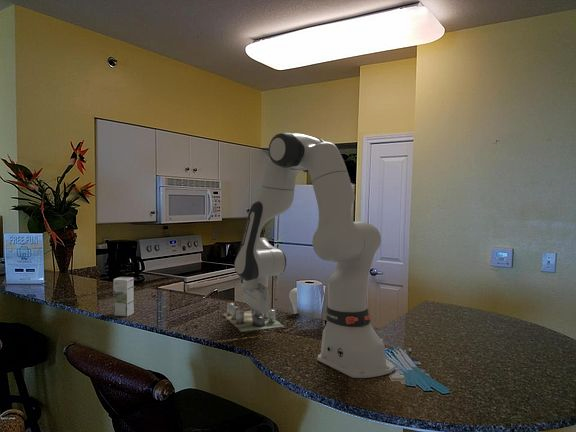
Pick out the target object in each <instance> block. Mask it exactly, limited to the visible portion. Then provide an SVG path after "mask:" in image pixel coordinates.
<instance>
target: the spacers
mask: <svg viewBox="0 0 576 432" xmlns="http://www.w3.org/2000/svg"><path fill="white" fill-rule="evenodd" d="M276 311H277V310H276V309H273V308H270V311H269V312H268V313H260V314H259V315H263V316H265V319H268V323H271V324H273V323H275V320H277V319H276V315H277V314H276ZM244 312H245V310H242V309H240V306H238V305H237V306H236V305H235V302H227V304H226V313H227V316H231V320H236V324H238V325H242V324H244Z"/></svg>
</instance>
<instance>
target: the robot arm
mask: <svg viewBox="0 0 576 432" xmlns="http://www.w3.org/2000/svg"><path fill="white" fill-rule="evenodd" d="M268 156H269V158H268V159H267V160H266V163H265V166H264V172H263V175H262V182H261V189H260V190H261V191H260V193H259V195H258V198H257V200H256V201H255V202H254V203H252V204H251V206H250V208H249V212H248V215H247V218H246V222H245V226H244V230H243V235H242V239H241V241H240V245H239V249H238V251H237V254H236V257H235V259H234V263H233V266H234V271H235V273H236V274H237V275H238V277H239V278H240V280H239V281H240V283H241V297H242V301H243V302H244V303H246V305H248V306H249V308H250V311H251V313H252V317H253V316H255V315H259V314H260V313H268V312H269V311H270V309H271V301H270V293H269V290H267V289H266V288H267V287H269V281H268V280H269V277H274V276H279V275H283V273H284V272H285V270H286V268H287V267H286V266H287V258H286V254H285V252H284V251H282V249H281V248H277V247H275V246H273V245H272V244H271V243H269V241H268V239H267V238H266V237H263V236H261V234H262V230H263V227H264V226H265V224H267V223H268V222H269V221H270V220H272V219H274V218H276V217H277V216H280V215H282V214H284V213H286V212H287V211H288V210H289V209H290V208H291V207H292V204H293V201H294V197H295V189H296V188H295V187H296V178H297V176H298V174H299V173H300V172H303V173H309V175H310V181H311V184H312V189H313V192H314V196H315V200H316V203H317V209H318V224H317V227H316V230H315V231H314V233H313V236H312V242H311V243H312V249H313V251H314V253H315V254H316V255H317V257H318V258H320V259H321V260H323V261H328V262H332V263H333V262H334V263H336V266H335V268H334V271H333V272H332V274H331V275H330V277H329V280H328V284H327V285H328V287H327V288H328V290H327V291H328V292H327V298H328V299H327V306H326V311H325V315H326V317H325V318H326V320H327V321H326V324H325V326H324V328H323V330H322V336H321V347H320V353H319V354H318V355H317V356H316V357H317V358H316V359H317V361H318V362H320V363H322V364H324V365H327V366H328V367H330V368H332V369H334V370H336V371H338V372H340V373H342V374H344V375H346V376H348V377H351V378H353V379H354V378H355V379H367V378H375V377H381V376H384V375H385V376H386V375H387V374H391V373H393V372H394V371H396V366H395V365H394V363H392V362H391V361H390V360H389V359H387V353H386V346H385V341H384V339H383V338H380V337H379V336H378V333H377V332H376V331H375V329H374V328H373V326H372V324H371V322H372V321H371V320H373V318H371V317H373V315H371V314H370V312H369V309H368V307H367V305H368V304H367V302H368V284H369V282H368V281H369V276H370V271H371V268H372V263H373V260H374V257H375V254H376V252H377V251H378V250H379V249H380V246H381V241H382V237H381V234H380V233H381V232H380V231H379V229H378V228H377V226H375V225H373V224H371V223H369V222H365V221H361V220H360V221H358V220H357V221H353V215H352V208H353V204H354V202H355V198H356V194H355V192H354V188H353V185H352V182H351V177H350V175H349V172H348V169H347V166H346V163H345V160H344V158H343V155H342V154H341V152H340V150H339V149H338V147H337V146H336V145H335V144H334V143H332V142H330V141H325V140H323V139H322V138H319V137H317V136H316V137H313V136H310V135H306V134H303V133H295V132H293V133H292V132H280V133H276V134H275V135H274V136H273V137H272V139H270V142H269V144H268ZM392 371H393V372H392Z"/></svg>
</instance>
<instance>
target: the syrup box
mask: <svg viewBox="0 0 576 432" xmlns="http://www.w3.org/2000/svg"><path fill="white" fill-rule="evenodd" d="M134 280H135V279H134V276H133V277H132V276H131V277H130V276H119V277H118V276H117V277H116V278H114V279H113V281H112V285H113V287H112V288H113V289H112V290H113V291H112V293H113V294H112V296H113V299H112V300H113V317H129V315H130V316H131V315H133V314H134V313H135V308H134V307H135V305H134V301H135V300H134V294H135V293H134V287H135V286H134Z"/></svg>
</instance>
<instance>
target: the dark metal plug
mask: <svg viewBox="0 0 576 432" xmlns="http://www.w3.org/2000/svg"><path fill="white" fill-rule="evenodd" d="M252 326H254V327H263V326H265V316H263V315H255V316H253V317H252Z"/></svg>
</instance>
